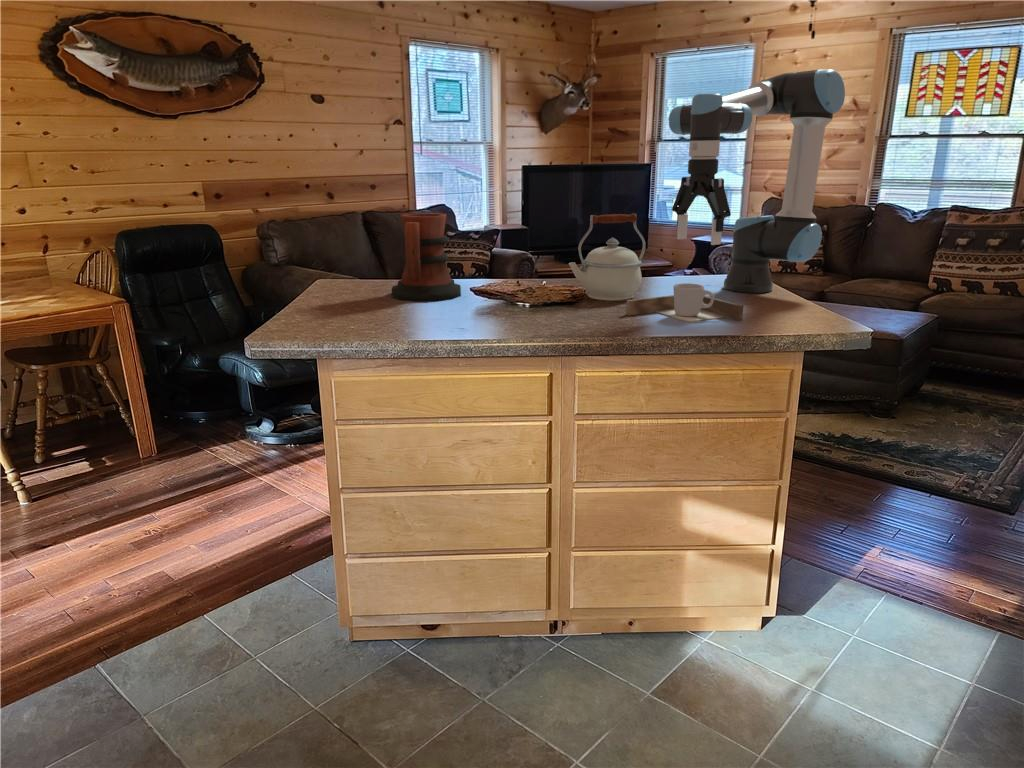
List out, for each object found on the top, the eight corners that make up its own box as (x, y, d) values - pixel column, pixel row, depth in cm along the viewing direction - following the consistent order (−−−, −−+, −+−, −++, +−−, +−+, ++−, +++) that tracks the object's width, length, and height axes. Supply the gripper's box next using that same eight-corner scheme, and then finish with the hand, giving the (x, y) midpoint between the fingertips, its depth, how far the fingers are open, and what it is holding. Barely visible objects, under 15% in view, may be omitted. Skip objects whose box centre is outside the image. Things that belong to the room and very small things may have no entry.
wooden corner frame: (692, 306, 211) (693, 293, 210) (742, 320, 194) (743, 305, 193) (625, 314, 201) (626, 300, 200) (671, 329, 184) (672, 314, 183)
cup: (711, 313, 202) (714, 284, 199) (713, 319, 194) (715, 289, 192) (671, 311, 204) (673, 282, 201) (671, 317, 196) (673, 287, 194)
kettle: (628, 289, 238) (632, 210, 230) (656, 299, 221) (661, 215, 214) (557, 294, 230) (558, 213, 223) (580, 305, 214) (582, 218, 206)
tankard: (468, 289, 238) (467, 212, 230) (449, 305, 215) (446, 219, 207) (404, 288, 242) (400, 211, 234) (377, 302, 218) (372, 218, 211)
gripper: (661, 158, 197) (658, 237, 204) (725, 159, 176) (719, 248, 183) (683, 157, 201) (679, 235, 207) (749, 158, 179) (742, 245, 186)
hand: (698, 241), depth 195 cm, fingers open, 13 cm apart
